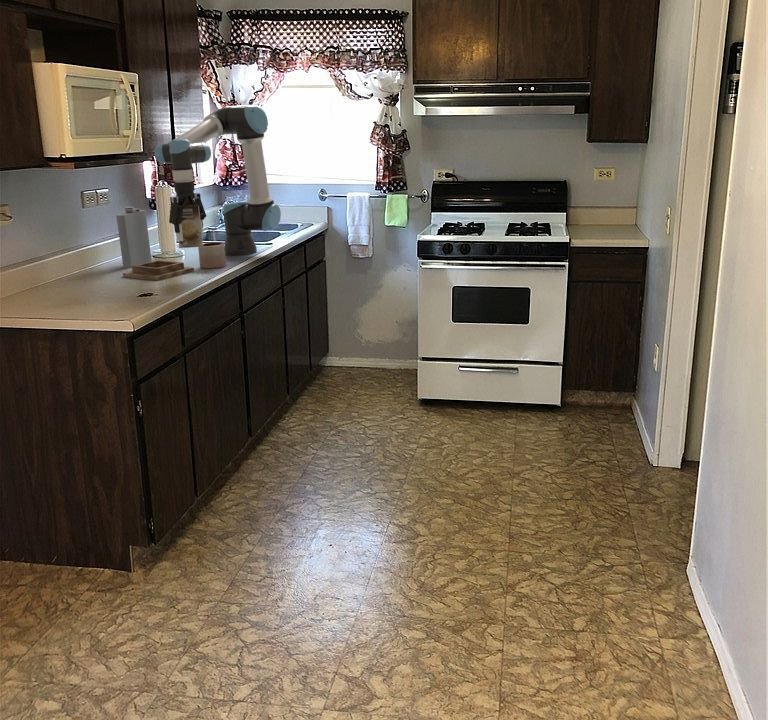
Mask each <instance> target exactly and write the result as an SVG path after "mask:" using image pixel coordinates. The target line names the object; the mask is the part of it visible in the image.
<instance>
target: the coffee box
mask: <svg viewBox="0 0 768 720" xmlns="http://www.w3.org/2000/svg"><path fill="white" fill-rule="evenodd" d="M179 208H180V207H177V211H178V210H179ZM179 224H181V225H182V233H183V241H178V248H179V249H185V248H186V249H188V248H198V247H202V246H203V243H204V241H203V237H202V230H201V221H200V211H199V204H196V205H187V206H185V207H184V208H183V213H182V217H181V220H180V223H179Z"/></svg>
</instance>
